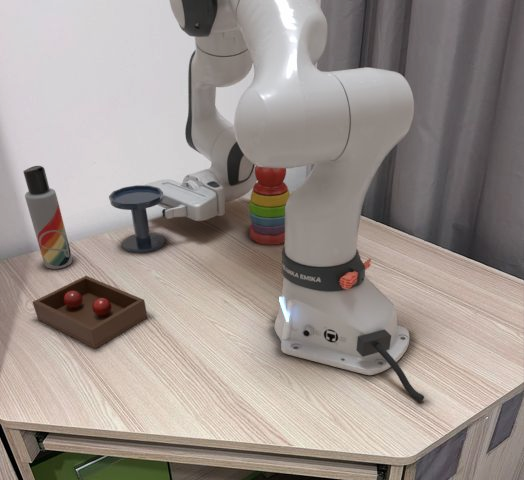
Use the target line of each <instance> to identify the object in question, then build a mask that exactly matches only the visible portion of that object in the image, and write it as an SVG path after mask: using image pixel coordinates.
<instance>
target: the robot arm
mask: <svg viewBox="0 0 524 480" xmlns="http://www.w3.org/2000/svg"><path fill="white" fill-rule="evenodd" d="M169 6H170V8H171V12H172V14H173V17H174V18H175V20H176V22H177V23H178V25H179V27H180V29H181V31H183V32H184V33H185V34H186V35H188V36H189V37H194V42H195V44H194V45H195V49H194V51H193V52H192V53H191V55H190V58H189V62H188V75H187V76H188V77H187V79H188V80H187V82H188V83H187V84H188V85H187V86H188V87H187V91H188V92H187V93H188V95H187V97H188V99H187V100H188V101H187V102H188V108H187V109H188V112H187V119H186V123H185V131H184V135H185V140H186V143H187V145H188V146H189V147H190V148H191V149H192V150H194V151H195V152H197V153H198V154H200V155H202V156H203V157H205V158H206V159H207V160H209V161H210V162H211V165H210V167H209V168H205V169H201V170H199V171H195V172H193V173H192V172H191V173H189V174H186V175H185V176H184V178H182V179H183V180H182V182H179V181H176V180H173V179H170V178H166V179H160V180H155V181H151V182H148V183H145V184H144V185H149V186H153V187H157V188H160V189H161V190H162V192H163V200H162V202H160V203H159V204H157V205H156V206H159V207H161V208H163V209H162V211H161V213H162V217H163V218H165V219H167V220H170V219H172V218H183V217H185V218H188V219H190V220H193V221H195V222H204V221H206V220H209V219H212V218H215V217H220V216H224V215H225V214H226V203H230V202H233V201H235V200H238V199H240V198H242V197H244V196H246V194H247V195H248V194H249V193H250V192H252V190H253V187H254V185H255V184H256V183H257V182H258V181H257V179H256V176H255V166H257V167H267V168H286V169H294V168H295V169H296V168H301V167H305V166H310V165H313V167H312V169H311V171H310V173H309V174H308V175H307V177H306V178H305V179H304V181H302V182H301V183H300V184H299V185H298V186H297V187H296V188H294V190H293V191H292V192H291V193H290V196H289V198H288V200H287V203H286V206H285V242H284V246H283V248H282V250H281V270H280V271H281V274H282V277H283V279H282V291H281V296H279V298H278V299H279V300H278V301H279V304H280V305H279V308H278V311H277V315H276V319H275V321H274V325H273V326H274V327H273V328H274V331H275V334H276V336H277V337H278V338H279V340H280V350H281V352H282V353H283V354H285V355H289V356H292V357H296V358H300V359H304V360H308V361H311V362H315V363H319V364H322V365H327V366H331V367H335V368H339V369H342V370H346V371H350V372H354V373H357V374H361V375H364V376H365V375H366V376H373V375H377V374H380V373H383V372H385V371H387V370H388V369H390V368H392V370H393V371H394V372H395V374H396V376H397V377H398V379H399V381H400V383H401V385H402V386H403V388H404V389H405V390H406V392H407V393H408V394H409V395H410V396H411V397H412V398H414V399H415V400H416V401H419V402H422V401H423V400H424V399H425V395H423V394H421V393H420V392H418V391H417V390H416V389H415V388H414V387H413V385H412V384H411V383H410V381H409V380H408V378H407V376H406V374H405V373H404V371H403V369H402V368H401V366H400V365H399V363H398V362H399V360H400V359H401V358H402V357H403V356H404V354H405V353H406V351H407V349H408V348H409V345H410V332H409V329H407V328H406V327H404V326H402V325H400V324H398V315H397V309H396V306H395V304H394V302H392V300H391V299H389V298H388V297H387V296H386V295H385V294H384V292H382V291H381V290H380V289H379V288H378V287H377V286H376V285H375V284H374V283H373V282H372V281H371V280H370V279H369V277H367V276H366V270H368V269H369V268H370V267H371V265H372V264H371V261H372V258H368V259H367V260H366V261H365V262H363V261H362V259H361V255H360V253H359V250H358V247H357V246H358V238H359V231H360V230H359V229H360V222H361V216H362V210H363V205H364V201H365V199H366V196H367V193H368V191H369V188H370V185H371V184H372V182H373V179H374V177H375V176H376V173H377V171H378V170H379V168H380V166H381V164H382V163H383V162H384V160H385V159H386V157H387V156H388V154H389V153H390V152H391V151H392V150H393V149H394V148H395V146H397V145H398V144H399V143H400V142H401V141H402V140H403V139H404V138H405V137H406V136H407V134H408V133H409V131H410V128H411V126H412V123H413V120H414V115H415V98H414V94H413V91H412V88H411V86H410V83H409V81H408V80H407V79H406V78H405V76H403V75H402V73H399V72H397V71H393V70H388V69H382V68H375V67H359V68H350V69H342V70H341V69H340V70H335V71H334V70H333V71H322V70H320V69H318V68H317V67H316V66H315V65H316V64H317V63H318V61H319V60H320V59H321V57H322V56H323V54H324V52H325V49H326V47H327V43H328V35H329V34H328V33H329V31H328V30H329V29H328V27H329V26H328V21H327V20H328V19H327V18H326V16H325V13H324V11H323V10H322V8H321V6H320V4H319V2H318V0H169ZM252 67H253V73H254V75H253V77H252V82H251V83H250V85H249V86H248V87H247V88H246V89H245V90H244V92H243V93H242V94H241V96H240V98H239V99H238V102H237V105H236V108H235V111H234V118H233V123H232V122H230V121H229V120H227V119H226V118H225V117H224V116H223V115H222V114H221V113H220V111H219V110H218V108H217V106H216V96H217V95H216V94H217V88H227V87H232V86H234V85H236V84H238V83H240V82H241V81H243V80H244V79H245V78H246V77H247V75H249V73H250V71H251V70H252Z"/></svg>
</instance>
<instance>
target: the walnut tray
mask: <svg viewBox="0 0 524 480" xmlns="http://www.w3.org/2000/svg"><path fill="white" fill-rule="evenodd" d="M69 291H77V292H79V293H80V294H81V296H82V299H83V301H82V304H81V305H80V306H79V307H78V308H75V309H72V308H69V307H67V306H66V305H65V303H64V296H65V294H66V293H67V292H69ZM98 298H105V299H107V300H108V301H109V302H110V303H111V311H110V313H109V314H108V315H106V316H98V315H96V314H95V313H94V311H93V309H92V305H93V302H94V301H95V300H96V299H98ZM32 305H33V309H34V312H35V315H36V317H37V320H38V321H40V322H42V323H44V324H46V325H48V326H50V327H52V328H54V329H56V330H58V331H60V332H62V333H64V334H65V335H68V336H69V337H72V338H74V339H76V340H77V341H80V342H81V343H83V344H85V345H88V346H89V347H91V348H93V349H98V348H99V347H101V346H102V345H104V344H106V343H107V342H109V341H111V340H112V339H114V338H116V337H118V336H119V335H121V334H123V333H124V332H126V331H127V330H129V329H131V328H133V327H134V326H136V325H137V324H139V323H140V322H142V321H143V320H145V319H147V318H148V313H147V307H146V301H145V299H143V298H141V297H138V296H137V295H133V294H131V293H129V292H127V291H124V290H121V289H119V288H117V287H115V286H113V285H109V284H107V283H105V282H102V281H101V280H97V279H95V278H93V277H90V276H89V275H85V276H82V277H80V278H78V279H76V280H74V281H72V282H70V283H68V284H66V285H64V286H62V287H60V288H58V289H56V290H54V291H52V292H49V293H48V294H46V295H44V296H41V297H39V298H38V299H36V300H33V301H32Z"/></svg>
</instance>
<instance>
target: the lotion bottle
mask: <svg viewBox="0 0 524 480" xmlns="http://www.w3.org/2000/svg"><path fill="white" fill-rule="evenodd" d="M22 172H23V176H24V179H25V184H26V187H27V190H28V191H27V192H26V193H25V194H24V198H25V202H26V206H27V209H28V212H29V216H30V219H31V223H32V227H33V230H34V232H35V237H36V240H37V243H38V248H39V251H40V254H41V259H42V261H43V264H44V267H45V268H47V269H51V270H59V269H63V268H66V267H69V266H70V265H71V264H72V263H73V255H72V252H71V247H70V243H69V239H68V235H67V231H66V228H65V223H64V219H63V215H62V212H61V208H60V204H59V201H58V199H59V198H58V195H57V192H56V190H54V189H53V188H51V187H50V185H49V182H48V177H47V173H46V170H45V167H44V166H43V165H33V166H30V167H28V168H26V169H25V170H23V171H22Z"/></svg>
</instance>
